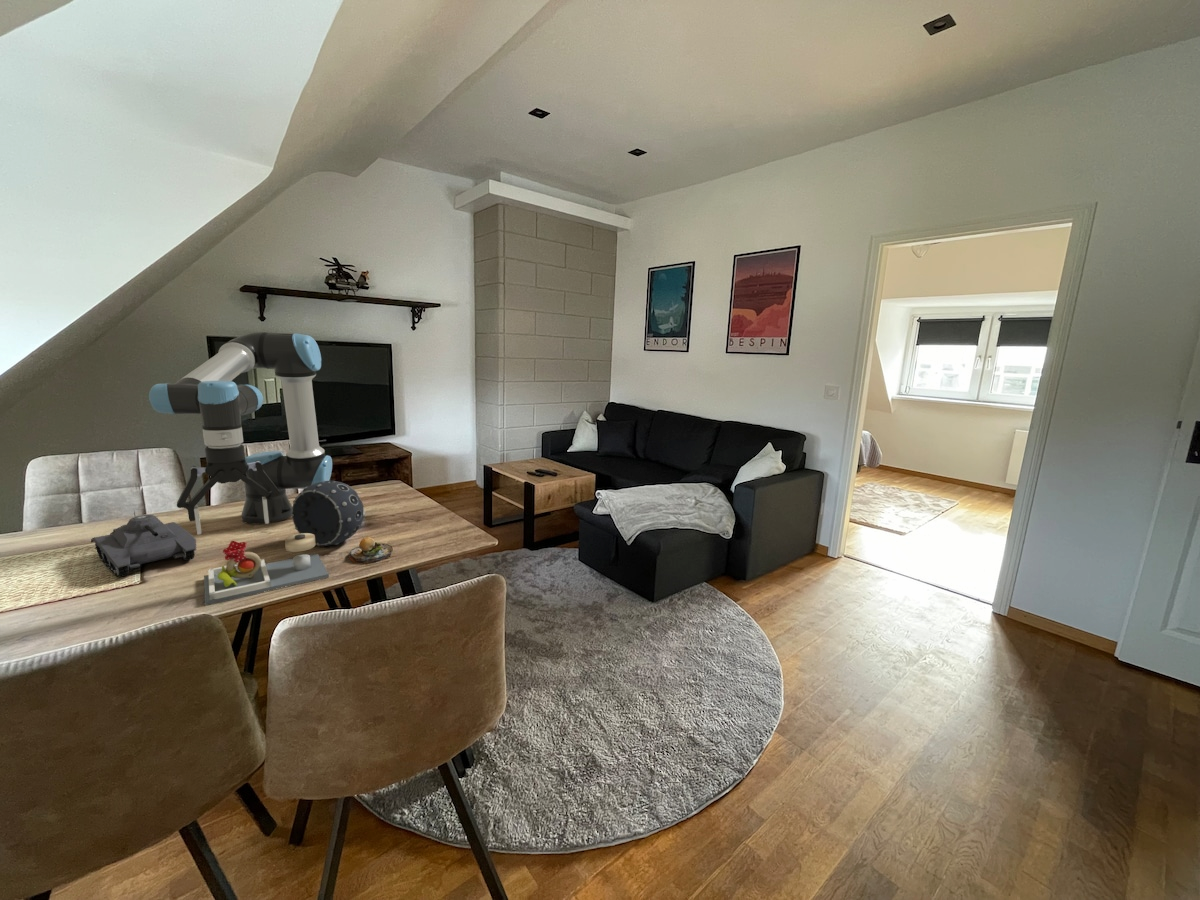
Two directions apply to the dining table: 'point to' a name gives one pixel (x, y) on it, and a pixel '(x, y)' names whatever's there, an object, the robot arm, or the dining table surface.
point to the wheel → (300, 542)
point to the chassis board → (265, 578)
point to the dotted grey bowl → (328, 512)
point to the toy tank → (143, 544)
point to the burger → (370, 551)
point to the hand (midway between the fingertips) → (234, 527)
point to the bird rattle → (246, 564)
